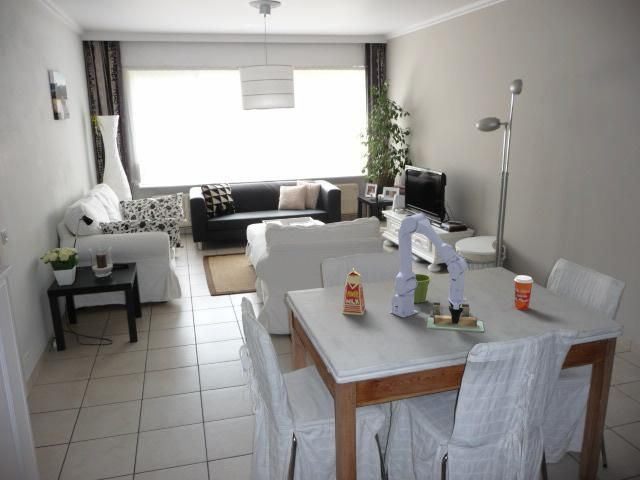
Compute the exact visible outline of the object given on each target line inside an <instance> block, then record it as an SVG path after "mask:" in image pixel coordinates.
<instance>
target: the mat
mask: <svg viewBox="0 0 640 480" xmlns="http://www.w3.org/2000/svg"><path fill="white" fill-rule="evenodd" d="M426 328H427V329H432V330H449V331H460V332H463V331H464V332H475V333H476V332H477V333H484V332H485V331H484V323H483V321H482V320H477V327H472V326H457V325H442V324H434V317H427V325H426Z"/></svg>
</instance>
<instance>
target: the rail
mask: <svg viewBox="0 0 640 480" xmlns="http://www.w3.org/2000/svg"><path fill="white" fill-rule="evenodd" d="M433 318H434V324H442V325H457V326H472V327H477V321H478V318H477V317H473V316H471V317H460V318H459V322H458V324H453V323H452V317H451V315H443V314H442V315H434V317H433Z"/></svg>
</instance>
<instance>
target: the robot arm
mask: <svg viewBox="0 0 640 480" xmlns="http://www.w3.org/2000/svg"><path fill="white" fill-rule="evenodd" d="M400 223H401V225H400V227H399V229H398V232H397V236H398V262H399V266H398V268H399V272H398V274H397V275H396V277H395V283H394V285H393V286H394V287H393V288H394V291H395V292H396V294H395V295H393V297H392V299H391V310H390V313H391V314H394V315H395V316H398V317H401V318H406V317H409V316H413V315H415V314H417V313H419V311H418V310H415V302H414V292H415V289H416V287H417V285H418V283H417V280H416V277H415V274H416V273H415V271H413V250H412V249H413V245H412V243H413V242H412V236H413V235H414V234H420V235H421V234H422V235H424V236H425V237H426V238H427V239H428V240H429V241H430V242H431V243H432V244H433V245H434V247H435V248H436V254H437V255H438V256H439V257H440V258H441V259H442V261H443V262H444V263H445V265H446V266H447V267H446V268H447V271H448V273H449V281H448V282H449V285H448V286H449V287H448V299H447V300H448V303H449V305H448V310H449V313H450V316H451V317H452V323H453V324H458V322H459V318H460V315H461V313H462V311H463V308H462V307H461V306H462V303H463V302H467V298H465V297H464V294H465V293H464V291H465V276H466V275H465V271H466V270H467V268H468V262H467V261H466V259H465V258H464V257H461V256H460V255H459V254H457V253H456V251H455V250H454V249H453V246H452V245H450V244H449V243H445V242H444V241H443V240H442V239H441V237H440V236H439V234H438V233H437V232H436V230H435V229H434V228H433V226H432V224H431V221H430V219H429V218H427V216H426V215H425V214H424V213H420V212H419V213H416V214H412V215H409V216H406V217H404V218H403V219H402V220H401V222H400Z"/></svg>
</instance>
